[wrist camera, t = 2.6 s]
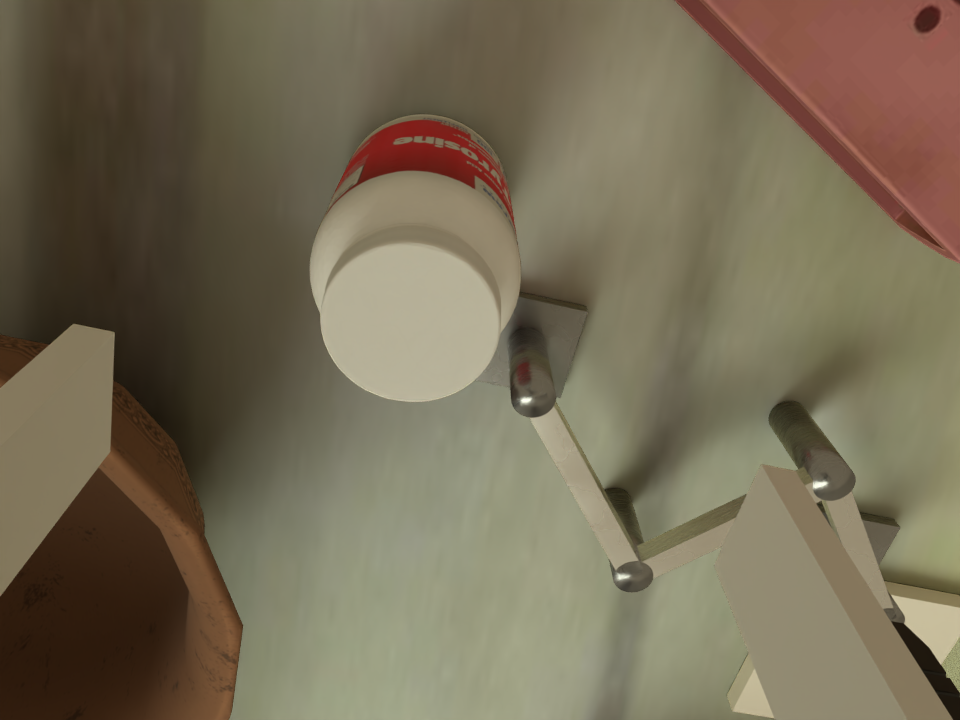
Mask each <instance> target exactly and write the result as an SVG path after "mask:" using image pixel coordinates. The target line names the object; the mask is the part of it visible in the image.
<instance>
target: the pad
mask: <svg viewBox="0 0 960 720" xmlns="http://www.w3.org/2000/svg"><path fill="white" fill-rule="evenodd" d="M884 583H885V586H886V589H887V590H888V592H889V593H890V595H891V596H892V598H893V599H894V601H895V602H896V604H897V605H898V607H899V608H900V610H901V611H902V613H903V614H904V616H905V623H904V624H905V625H906V626H907V627H908V628H909V629H910V630H911V631H912V632H913V633H914V634H915V635H917V636H918V637H919V638H920V639H921V640H922V641H923V642H924V643H925V644H926V645H927V646H928V647H929V648H930V649H931V651H932V652H933V654H934V655H935V657H936V658H937V660H938V661H939V663H940V664H942V663H943V661H944V660H945V658H946V657H947V655H948V654H949V652H950V651H951V649H952V648H953V646H954V645H955V643H956V642H957V640H958V639H959V637H960V595H956V594H950V593H945V592H940V591H935V590H929V589H924V588H919V587H913V586H908V585H903V584H897V583H892V582H887V581H884ZM727 698H728V701H729V704H730V707H731V709H732V711H733V712H739V713H745V714H751V715H757V716H763V717H769V718H774V716H773V714H772V711H771V709H770V706H769V703H768V701H767V698H766V696H765V693H764V691H763V688H762V686H761V683H760V681H759V678H758V676H757V673H756V671H755V668H754V666H753V663H752V661H751V658H750V656H749V653H748V655H747V657H746V659H745V661H744V663H743V665H742V667H741V669H740V671H739V672H738V674H737V676H736V678H735V680H734V682H733V684H732V686H731V688H730V690H729V692H728V694H727Z"/></svg>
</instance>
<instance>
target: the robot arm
mask: <svg viewBox="0 0 960 720" xmlns="http://www.w3.org/2000/svg"><path fill="white" fill-rule="evenodd" d="M114 339H115V332H112V331H107V330H102V329H97V328H92V327H87V326H82V325H78V324H73V325H71V326H70V327H69V328H68V329H67V330H66V331H65V332H63V333H62V334H61V335H60V336H59V337H58V338H57V339H55V340H54V341H53V342H52V343H51V344H50V345H49V346H48V347H46V348H45V349H44V350H43V351H42V352H41V353H40V354H38V355H37V356H36V357H35V358H34V359H33V360H32V361H30V362H29V363H28V364H27V365H26V366H25V367H24V368H22V369H21V370H20V371H19V372H18V373H17V374H16V375H15V376H13V377H12V378H11V379H10V380H9V381H8V382H7V383H5V384H4V385H3V386H2V387H1V388H0V596H1V595H2V593H3V592H4V591H5V589H6V588H7V587H8V586H9V584H10V583H11V582H12V580H13V579H14V578H15V576H16V575H17V574H18V572H19V571H20V570H21V568H22V567H23V566H24V564H25V563H26V562H27V561H28V559H29V558H30V557H31V555H32V554H33V553H34V551H35V550H36V549H37V547H38V546H39V545H40V543H41V542H42V541H43V539H44V538H45V537H46V536H47V534H48V533H49V532H50V530H51V529H52V528H53V526H54V525H55V524H56V522H57V521H58V520H59V518H60V517H61V516H62V514H63V513H64V512H65V511H66V509H67V508H68V507H69V505H70V504H71V503H72V501H73V500H74V499H75V497H76V496H77V495H78V493H79V492H80V491H81V489H82V488H83V487H84V486H85V484H86V483H87V482H88V480H89V479H90V478H91V476H92V475H93V474H94V472H95V471H96V470H97V468H98V467H99V466H100V464H101V463H102V462H103V461H104V459H105V458H106V457H107V455H108V454H109V453H110V444H111V417H112V391H113V365H114ZM714 567H715V570H716V572H717V575H718V577H719V580H720V582H721V585H722V587H723V590H724V593H725V595H726V598H727V600H728V603H729V605H730V608H731V610H732V613H733V615H734V618H735V620H736V623H737V625H738V628H739V630H740V633H741V635H742V638H743V640H744V643H745V645H746V648H747V651H748V653H749V656H750V658H751V661H752V663H753V666H754V668H755V671H756V673H757V676H758V678H759V681H760V683H761V686H762V688H763V691H764V693H765V696H766V698H767V701H768V703H769V706H770V709H771V711H772V714H773V716H774V719H775V720H960V693H959V691H958V690H957V688H956V687H955V685H954V684H953V682H952V681H951V679H950V678H946V672H945V670H944V669H943V667H942V666H941V664H940V663H939V661H938V660H937V658H936V657H935V655H934V654H933V652H932V651H931V649H930V648H929V647H928V646H927V645H926V644H925V643H924V642H923V641H922V640H921V639H920V638H919V637H918V636H917V635H915V634H914V633H913V632H912V631H911V630H910V629H909V628H908V627H907V626H906V625H905V624H904V623H899V622H894V621H890V619H889V618H888V616H887V615H886V613H885V612H884V610H883V608H882V607H881V605H880V604H879V602H878V601H877V599H876V597H875V596H874V594H873V593H872V591H871V589H870V588H869V586H868V585H867V583H866V582H865V580H864V578H863V577H862V575H861V574H860V572H859V571H858V569H857V567H856V566H855V564H854V563H853V561H852V559H851V558H850V556H849V555H848V553H847V552H846V550H845V548H844V547H843V545H842V544H841V542H840V541H839V539H838V537H837V536H836V534H835V533H834V531H833V529H832V528H831V526H830V525H829V523H828V522H827V520H826V518H825V517H824V515H823V514H822V512H821V511H820V509H819V507H818V506H817V504H816V503H815V501H814V500H813V498H812V496H811V495H810V493H809V492H808V490H807V488H806V487H805V485H804V484H803V482H802V481H801V479H800V477H799V476H798V474H797V473H796V471H793V470H788V469H783V468H778V467H773V466H768V465H764V464H761V465H760V467H759V469H758V472H757V474H756V476H755V478H754V480H753V482H752V484H751V487H750V489H749V491H748V493H747V495H746V497H745V500H744V502H743V504H742V506H741V508H740V510H739V512H738V515H737V517H736V519H735V521H734V523H733V525H732V528H731V530H730V532H729V534H728V536H727V538H726V541H725V543H724V545H723V547H722V549H721V551H720V553H719V556H718V558H717V560H716V562H715V564H714Z"/></svg>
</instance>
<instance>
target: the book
mask: <svg viewBox="0 0 960 720" xmlns="http://www.w3.org/2000/svg"><path fill="white" fill-rule="evenodd" d="M675 1H676V2H677V3H678V4H679V5H680V6H681V7H682V8H683V9H684V10H685V11H686V12H687V13H688V14H689V15H690V16H691V17H692V18H693V19H694V20H695V21H696V22H697V23H698V24H699V25H700V26H701V27H702V28H703V29H704V30H705V31H706V33H707V34H708V35H709V36H710V37H711V38H712V39H713V40H714V41H715V42H716V43H717V44H718V45H719V46H720V47H721V48H722V49H723V50H724V51H725V52H726V53H727V54H728V55H729V56H730V57H731V58H732V59H733V60H734V61H735V62H736V63H737V64H738V65H739V66H740V67H741V68H742V69H743V70H744V71H745V72H746V73H747V74H748V75H749V76H750V77H751V78H752V79H753V80H754V81H755V82H756V83H757V84H758V85H759V86H760V87H761V88H762V89H763V90H764V91H765V92H766V93H767V94H768V95H769V96H770V97H771V98H772V99H773V100H774V101H775V102H776V103H777V104H778V105H779V106H780V107H781V108H782V109H783V110H784V111H785V112H786V113H787V114H788V115H789V116H790V117H791V118H792V119H793V120H794V121H795V122H796V123H797V124H798V125H799V126H800V127H801V128H802V129H803V130H804V131H805V132H806V133H807V134H808V135H809V136H810V137H811V138H812V139H813V140H814V141H815V142H816V143H817V144H818V145H819V146H820V147H821V148H822V149H823V150H824V151H825V152H826V153H827V154H828V155H829V156H830V157H831V158H832V159H833V160H834V161H835V162H836V163H837V164H838V165H839V166H840V167H841V168H842V169H843V170H844V171H845V172H846V173H847V174H848V175H849V176H850V177H851V178H852V179H853V180H854V181H855V182H856V183H857V184H858V185H859V186H860V187H861V188H862V189H863V190H864V191H865V192H866V193H867V194H868V195H869V196H870V197H871V198H872V199H873V200H874V201H875V202H876V203H877V204H878V205H879V206H880V207H881V208H882V209H883V210H884V211H885V212H886V213H887V214H888V215H889V216H890V217H891V218H892V219H893V220H894V221H895V222H896V223H897V224H898V225H899V227H900V228H902V229H903V230H904V231H906V232H907V233H909V234H910V235H912V236H913V237H914V238H916V239H917V240H919V241H920V242H922V243H923V244H925V245H926V246H928V247H930V248H931V249H933V250H935V251H936V252H938V253H939V254H941V255H943V256H944V257H946V258H948V259H951V260H953V261H955V262H957V263H960V0H675Z"/></svg>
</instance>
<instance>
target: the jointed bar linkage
mask: <svg viewBox="0 0 960 720" xmlns="http://www.w3.org/2000/svg"><path fill="white" fill-rule="evenodd" d="M587 313H588V311H587V308H586V306H582V305H578V304H573V303H568V302H564V301H559V300H555V299H550V298H545V297H541V296H536V295H532V294H527V293H523V292H519V296H518V300H517V304H516V307H515V309H514V312H513V314H512V316H511V318H510V320H509V321H508V323H507V325H506V326H505V328H504V329H503V331H502V332H501V333H500V337H499V342H498V345H497V348H496V351H495V353H494V355H493V357H492V359H491V361H490V363H489V364H488V366H487V367H486V369H485V370H484V371H483V372H482V373H481V375H480V376H479V377H478V378H476V379H475V381H480V382H485V383H490V384H494V385H499V386H504V387H509V388H510V390H511V401H512V405H513V407H514V409H515V410H516V411H517V412H518V413H519V414H521V415H523V416H526V417H529V419H530V420H531V422H532V424H533V426H534V427H535V429H536V431H537V433H538V434H539V436H540V438H541V440H542V442H543V443H544V445H545V447H546V449H547V450H548V452H549V454H550V456H551V457H552V459H553V461H554V463H555V464H556V466H557V468H558V470H559V471H560V473H561V475H562V477H563V479H564V480H565V482H566V484H567V486H568V487H569V489H570V491H571V493H572V494H573V496H574V498H575V500H576V501H577V503H578V505H579V507H580V508H581V510H582V512H583V514H584V516H585V517H586V519H587V521H588V523H589V524H590V526H591V528H592V530H593V531H594V533H595V535H596V537H597V538H598V540H599V542H600V544H601V545H602V547H603V549H604V551H605V553H606V554H607V556H608V558H609V562H610V567H611V571H612V575H613V580H614V583H615V585H616V586H617V587H618V588H619V589H621V590H623V591H626V592H638V591H641V590H643V589H645V588H646V587H648V586H649V585H650V583H651V582H652V580H653V578H655V577H658V576H660V575H662V574H664V573H666V572H668V571H671V570H673V569H675V568H677V567H679V566H681V565H684V564H686V563H688V562H690V561H692V560H694V559H697V558H699V557H701V556H703V555H705V554H707V553H710V552H712V551H714V550H716V549H718V548H720V547H723V545H724V543H725V541H726V538H727V536H728V534H729V532H730V530H731V528H732V525H733V523H734V521H735V519H736V517H737V515H738V512H739V510H740V508H741V506H742V504H743V502H744V500H745V497H746V495H747V494H745V495H743V496H741V497H739V498H737V499H735V500H732V501H730V502H728V503H726V504H724V505H722V506H720V507H718V508H716V509H714V510H711V511H709V512H707V513H705V514H703V515H701V516H699V517H697V518H695V519H692V520H690V521H688V522H686V523H684V524H682V525H680V526H678V527H676V528H673V529H671V530H669V531H667V532H665V533H663V534H661V535H659V536H657V537H655V538H652V539H650V540H648V541H646V542H644V541H643V537H642V534H641V531H640V527H639V524H638V520H637V517H636V514H635V510H634V507H633V504H632V500H631V497H630V495H629V494H628V493H627V492H626V491H625V490H623V489H619V488H611V489H607V490H604V488H603V487H602V485H601V483H600V481H599V479H598V477H597V476H596V474H595V472H594V470H593V468H592V466H591V465H590V463H589V461H588V459H587V457H586V455H585V454H584V452H583V450H582V448H581V446H580V444H579V443H578V441H577V439H576V437H575V435H574V433H573V432H572V430H571V428H570V426H569V424H568V422H567V420H566V419H565V417H564V415H563V413H562V411H561V409H560V408H559V406H558V404H557V402H556V397H558V398H561V395H562V392H563V389H564V385H565V382H566V379H567V376H568V373H569V370H570V366H571V363H572V360H573V357H574V354H575V351H576V347H577V344H578V341H579V338H580V335H581V332H582V328H583V325H584V322H585V319H586V316H587ZM769 424H770V426H771V428H772V429H773V431H774V432H775V434H776V435H777V437H778V438H779V440H780V442H781V443H782V445H783V446H784V448H785V449H786V451H787V452H788V454H789V455H790V457H791V458H792V460H793V461H794V463H795V464H796V466H797V468H798V470H796V473H797V474H798V476H799V477H800V479H801V481H802V482H803V484H804V485H805V487H806V488H807V490H808V492H809V493H810V495H811V496H812V498H813V500H814V501H815V503H818V502H820V501H822V503H823V505H819V504H817V506H818V507H819V509H820V511H821V512H822V514H823V515H824V517H825V518H826V520H827V522H828V523H829V525H830V526H831V528H832V529H833V531H834V533H835V534H836V536H837V537H838V539H839V541H840V542H841V544H842V545H843V547H844V548H845V550H846V552H847V553H848V555H849V556H850V558H851V559H852V561H853V563H854V564H855V566H856V567H857V569H858V571H859V572H860V574H861V575H862V577H863V578H864V580H865V582H866V583H867V585H868V586H869V588H870V589H871V591H872V593H873V594H874V596H875V597H876V599H877V601H878V602H879V604H880V605H881V607H882V608H883V610H884V612H885V613H886V615H887V616H888V618H889V619H890V621H894V622H899V623H905V616H904V614H903V613H902V611H901V610H900V608H899V607H898V605H897V604H896V602H895V601H894V599H893V598H892V596H891V595H890V593H889V592H888V590H887V589H886V586H885V583H884V580H883V577H882V575H881V572H880V569H879V564H880V562H881V561H882V559H883V557H884V555H885V554H886V552H887V550H888V548H889V547H890V545H891V543H892V541H893V540H894V538H895V536H896V534H897V533H898V531H899V529H900V526H899V525H898V524H897V522H896V521H895V520H894V519H890V518H885V517H879V516H874V515H869V514H864V513H859V511H858V508H857V505H856V502H855V499H854V497H853V494H852V489H853V488H854V485H855V481H856V479H855V475H854V473H853V471H852V470H851V469H850V467H849V466H848V465H847V463H846V462H845V461H844V460H843V458H842V457H841V456H840V454H839V453H838V452H837V450H836V449H835V448H834V446H833V445H832V444H831V442H830V441H829V440H828V438H827V437H826V436H825V434H824V433H823V432H822V431H821V429H820V428H819V427H818V425H817V424H816V423H815V421H814V420H813V419H812V417H811V416H810V415H809V413H808V412H807V411H806V409H805V408H804V407H803V406H802V405H801V404H800V403H798V402H795V401H786V402H782V403H780V404H778V405H777V406H776V407H774V408H773V410H772V411H771V413H770V415H769Z"/></svg>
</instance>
